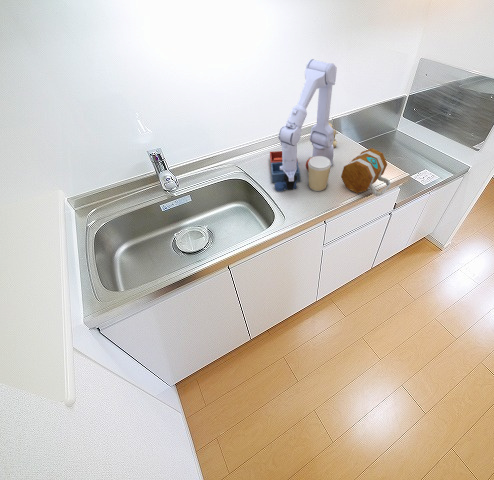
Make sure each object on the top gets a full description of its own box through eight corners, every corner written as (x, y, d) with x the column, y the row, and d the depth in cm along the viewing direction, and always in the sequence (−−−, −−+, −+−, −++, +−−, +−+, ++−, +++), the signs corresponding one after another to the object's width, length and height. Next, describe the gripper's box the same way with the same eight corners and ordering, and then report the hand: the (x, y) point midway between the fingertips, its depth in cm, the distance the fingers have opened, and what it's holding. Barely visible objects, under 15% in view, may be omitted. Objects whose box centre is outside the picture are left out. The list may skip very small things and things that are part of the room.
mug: (353, 155, 106) (371, 141, 114) (335, 176, 118) (352, 161, 126) (388, 192, 106) (404, 175, 114) (366, 209, 117) (382, 192, 125)
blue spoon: (295, 184, 121) (295, 179, 119) (296, 190, 118) (296, 185, 116) (274, 185, 120) (274, 180, 118) (275, 192, 117) (275, 186, 115)
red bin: (270, 160, 134) (269, 151, 131) (295, 158, 135) (295, 150, 131) (271, 170, 128) (270, 162, 125) (297, 169, 129) (297, 160, 125)
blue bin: (271, 171, 128) (270, 162, 124) (297, 169, 128) (297, 161, 125) (272, 183, 122) (272, 174, 118) (299, 181, 122) (300, 172, 119)
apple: (317, 179, 123) (318, 164, 117) (302, 174, 126) (302, 158, 120) (325, 170, 128) (327, 155, 122) (310, 165, 131) (311, 150, 125)
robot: (337, 141, 145) (341, 113, 134) (336, 149, 140) (340, 120, 129) (317, 139, 147) (320, 111, 136) (315, 147, 141) (318, 118, 130)
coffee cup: (331, 182, 122) (334, 158, 113) (323, 194, 116) (326, 170, 107) (311, 177, 124) (313, 153, 115) (303, 188, 119) (304, 164, 110)
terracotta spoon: (274, 166, 129) (274, 161, 127) (273, 161, 132) (273, 156, 130) (293, 165, 130) (293, 160, 128) (292, 160, 133) (292, 155, 131)
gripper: (278, 148, 113) (279, 175, 123) (280, 168, 103) (281, 196, 113) (295, 147, 113) (294, 174, 123) (299, 167, 103) (298, 195, 114)
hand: (289, 185), depth 118 cm, fingers open, 5 cm apart
